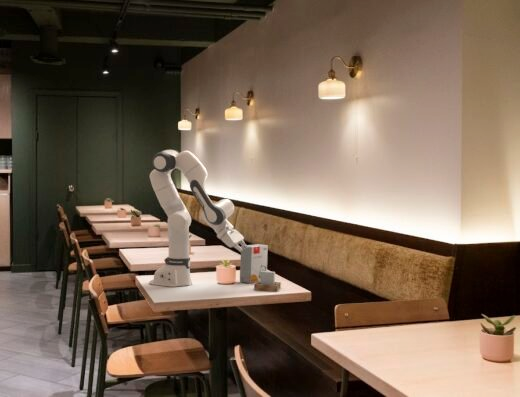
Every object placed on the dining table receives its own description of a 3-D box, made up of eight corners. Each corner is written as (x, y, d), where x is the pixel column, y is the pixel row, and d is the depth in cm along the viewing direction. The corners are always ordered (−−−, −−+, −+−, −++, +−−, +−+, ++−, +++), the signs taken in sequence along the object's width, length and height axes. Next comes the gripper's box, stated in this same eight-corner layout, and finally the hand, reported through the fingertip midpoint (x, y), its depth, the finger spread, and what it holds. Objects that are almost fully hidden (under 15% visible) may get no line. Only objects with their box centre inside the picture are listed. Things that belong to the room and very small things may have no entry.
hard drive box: (250, 283, 347) (251, 247, 346) (239, 282, 352) (240, 245, 351) (267, 280, 360) (268, 244, 359) (256, 278, 364) (257, 243, 363)
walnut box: (254, 289, 330) (254, 284, 330) (258, 286, 340) (258, 280, 340) (277, 291, 328) (277, 285, 327) (280, 287, 337) (280, 282, 337)
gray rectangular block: (260, 289, 333) (260, 271, 333) (261, 288, 336) (261, 271, 336) (273, 290, 332) (273, 272, 331) (274, 288, 335) (275, 271, 334)
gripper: (227, 232, 347) (245, 250, 346) (216, 237, 327) (234, 256, 326) (235, 224, 346) (252, 242, 344) (224, 228, 326) (243, 248, 324)
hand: (244, 249), depth 335 cm, fingers open, 8 cm apart
